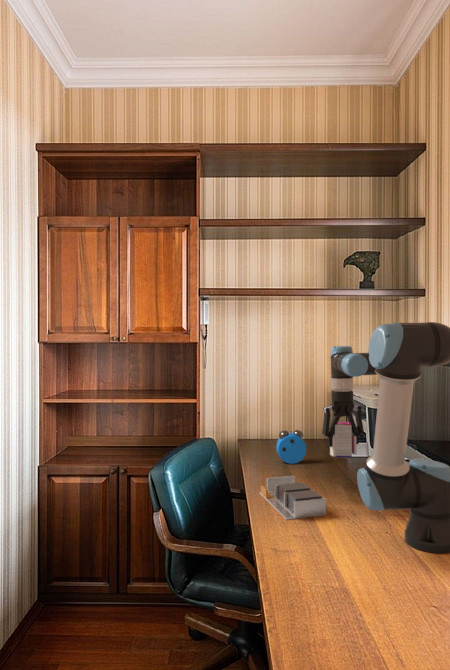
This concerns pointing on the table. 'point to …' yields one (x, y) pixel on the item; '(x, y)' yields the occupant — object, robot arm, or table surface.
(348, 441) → the supplement box
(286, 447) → the alarm clock
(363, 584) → the table surface
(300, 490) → the rack
